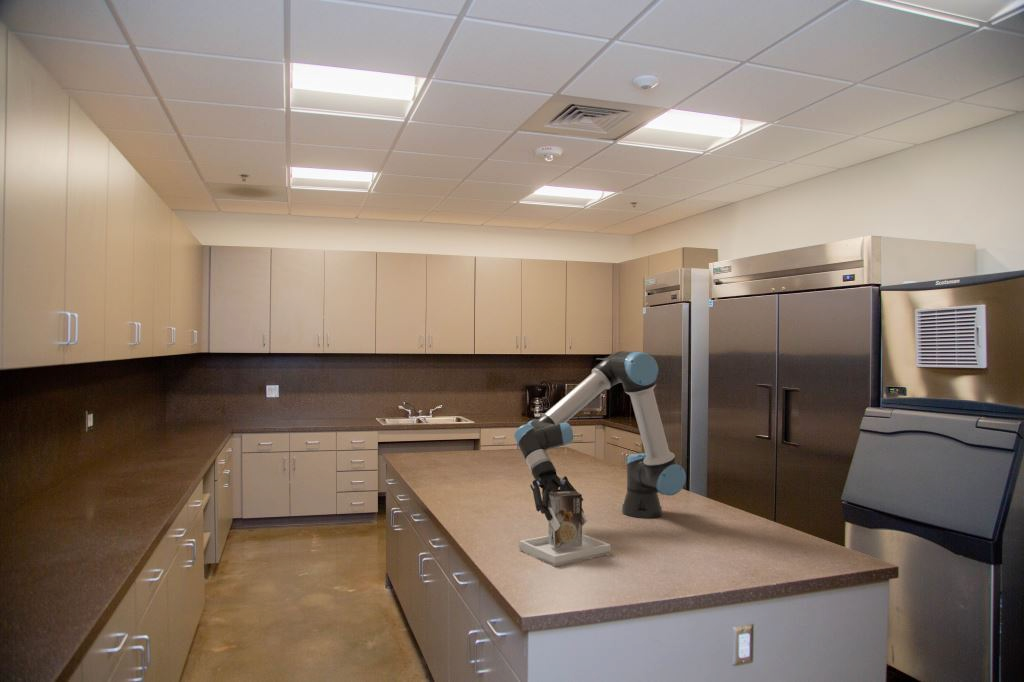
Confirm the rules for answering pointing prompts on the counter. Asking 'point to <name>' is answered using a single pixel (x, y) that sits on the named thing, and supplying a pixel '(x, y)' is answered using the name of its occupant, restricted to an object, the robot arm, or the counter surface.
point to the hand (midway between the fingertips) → (571, 526)
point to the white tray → (564, 550)
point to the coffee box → (566, 519)
